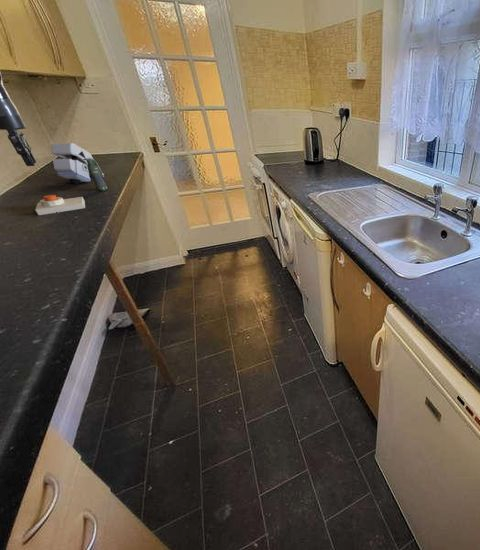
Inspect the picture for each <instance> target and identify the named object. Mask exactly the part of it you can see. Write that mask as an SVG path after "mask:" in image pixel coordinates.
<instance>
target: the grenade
mask: <svg viewBox="0 0 480 550" xmlns="http://www.w3.org/2000/svg"><path fill="white" fill-rule="evenodd" d="M83 160H86V161H87V163H88V165H87V167H88V171H89V175H91V176H92V177H91V178H92V180H93V183H94V185H95V188H96V190H97V191H100V192H103V191H107V189H108V186H107V184H106V182H105V181H104V178H105V176H104V177H103V175H102V173H103V172H102V169H101V168H100V164H99V163H98V162H97V161H96V160H95V159H94V158H93V157H92V158H85V159H83Z"/></svg>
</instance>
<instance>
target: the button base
mask: <svg viewBox="0 0 480 550" xmlns="http://www.w3.org/2000/svg"><path fill="white" fill-rule="evenodd" d="M56 197H57V200H53V201H45V199H44V198H43V199H40V200H39V202H37V204H36V207H35V212H36V214H37V216H43V215H50V214H57V213H62V212H69V211H75V210H76V211H77V210H81V209H86V201H85V199H84V197H83V196H78V197H70V198H63V197H62V196H56ZM56 212H57V213H56Z"/></svg>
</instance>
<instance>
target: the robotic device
mask: <svg viewBox="0 0 480 550" xmlns="http://www.w3.org/2000/svg"><path fill="white" fill-rule="evenodd" d="M50 145H51V146H50V149H51V150H50V151H51V154H52V155H54V156H57V157H59V158H53V159H52V163H53V168H54V170H55V171H56V174H57V176H59V177H61V178H63V179H65V180H68V181H69V182H70V183H72V184H74V185H80V183H88V182H92V180H91V178H92V176H91V174H90V173H89V171H88V167H87V165H88V163H87V161H86V160H83V159H85V158H93V156H92V154H91V153H90V152H89V151H88V150H86V149H84V148H82V147H80V146H79V145H77V144H75V143H73V142H54V143H52V144H50ZM102 175H103V177H104V178H105V173H103V172H102Z"/></svg>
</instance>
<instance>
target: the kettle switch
mask: <svg viewBox="0 0 480 550" xmlns="http://www.w3.org/2000/svg"><path fill="white" fill-rule="evenodd" d="M57 197H58V196H57V195H56V194H49V195H44V196H43V199H45V201H53V200H57Z"/></svg>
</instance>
